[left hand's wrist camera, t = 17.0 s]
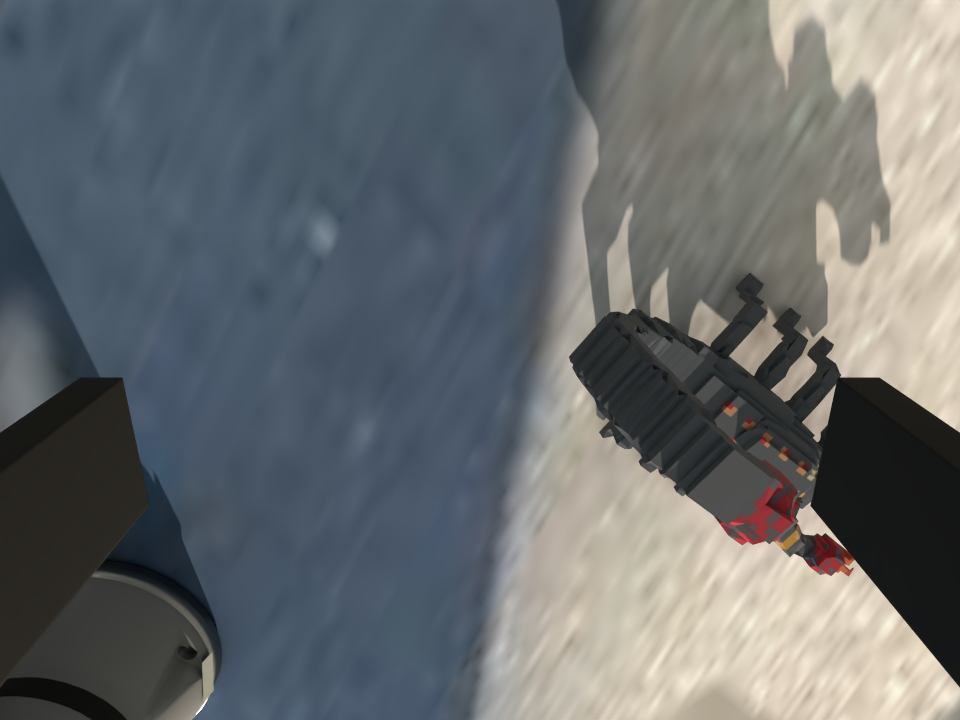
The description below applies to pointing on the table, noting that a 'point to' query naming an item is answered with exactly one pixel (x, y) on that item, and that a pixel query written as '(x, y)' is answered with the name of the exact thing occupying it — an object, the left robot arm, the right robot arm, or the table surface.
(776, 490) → the toy
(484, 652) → the table surface
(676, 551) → the table surface
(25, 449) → the left robot arm
